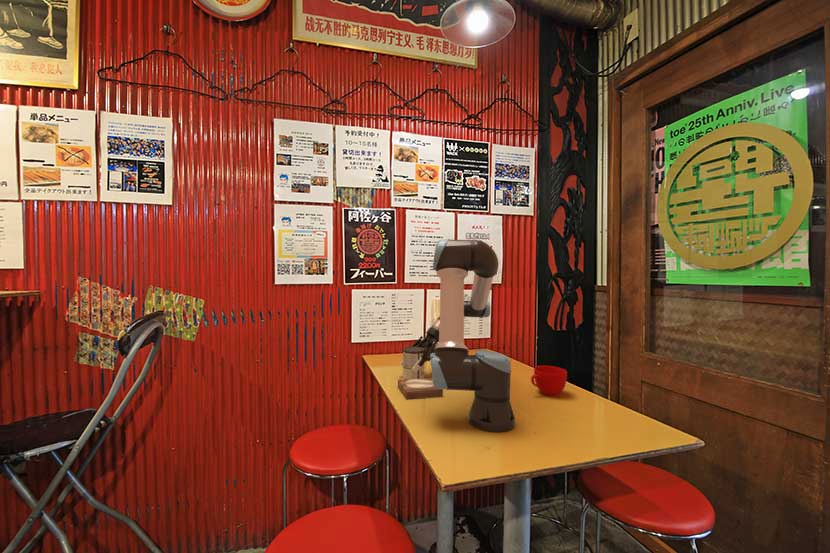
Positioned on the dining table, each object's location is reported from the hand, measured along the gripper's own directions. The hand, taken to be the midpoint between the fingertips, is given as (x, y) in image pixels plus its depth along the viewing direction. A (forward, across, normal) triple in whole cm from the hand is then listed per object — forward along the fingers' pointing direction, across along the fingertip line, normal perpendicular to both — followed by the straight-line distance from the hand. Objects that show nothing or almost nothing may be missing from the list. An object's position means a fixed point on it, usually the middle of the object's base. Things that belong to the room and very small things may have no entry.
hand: (407, 367), depth 163 cm
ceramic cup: (-26, -43, -34) cm, 60 cm away
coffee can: (+2, 0, -6) cm, 6 cm away
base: (+6, -16, -2) cm, 17 cm away
